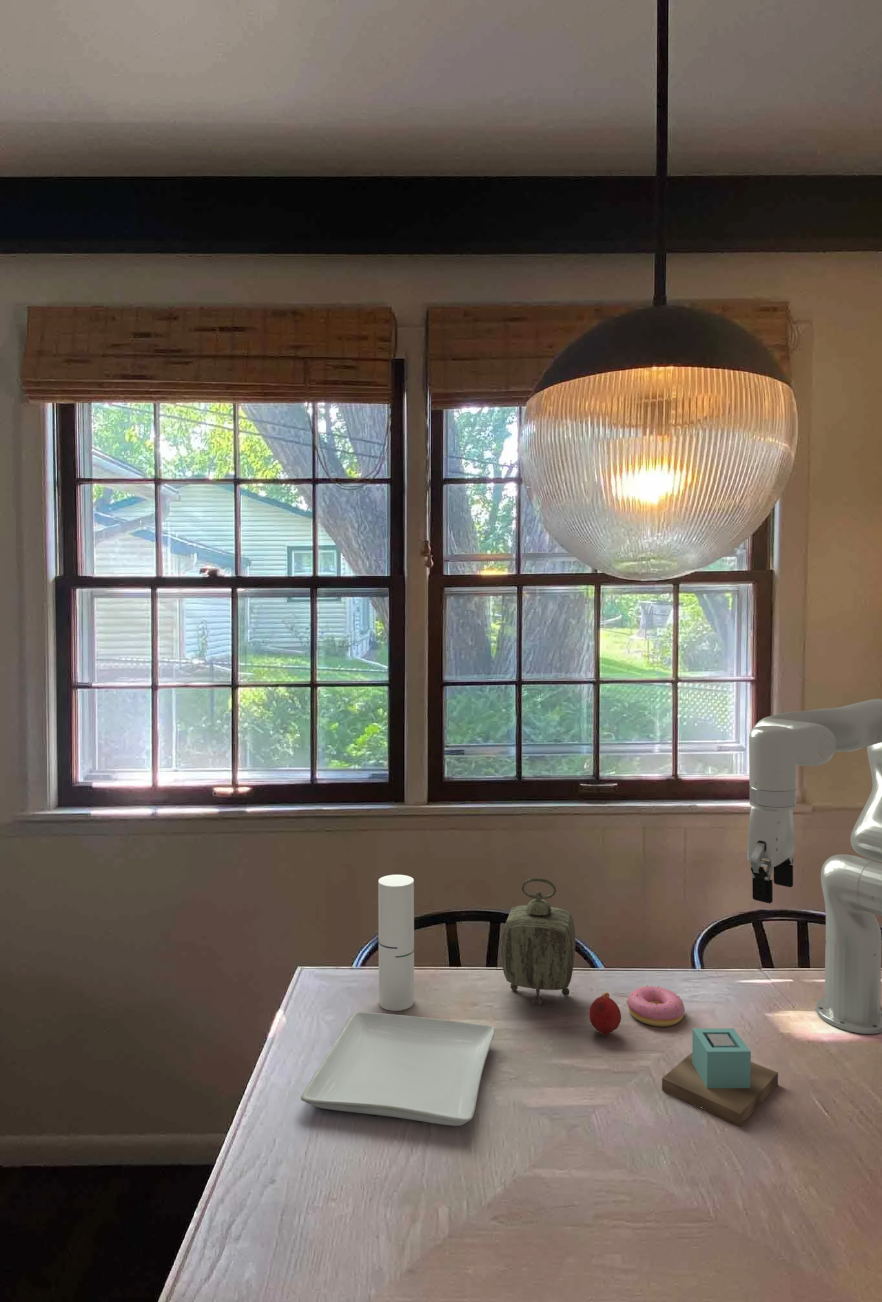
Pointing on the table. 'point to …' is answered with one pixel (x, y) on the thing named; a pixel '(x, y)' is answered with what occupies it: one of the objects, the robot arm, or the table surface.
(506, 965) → the tabletop clock
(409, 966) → the cylindrical container
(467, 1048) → the square plate
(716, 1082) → the collar
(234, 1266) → the table surface
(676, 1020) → the doughnut
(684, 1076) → the post board
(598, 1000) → the onion
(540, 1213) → the table surface
